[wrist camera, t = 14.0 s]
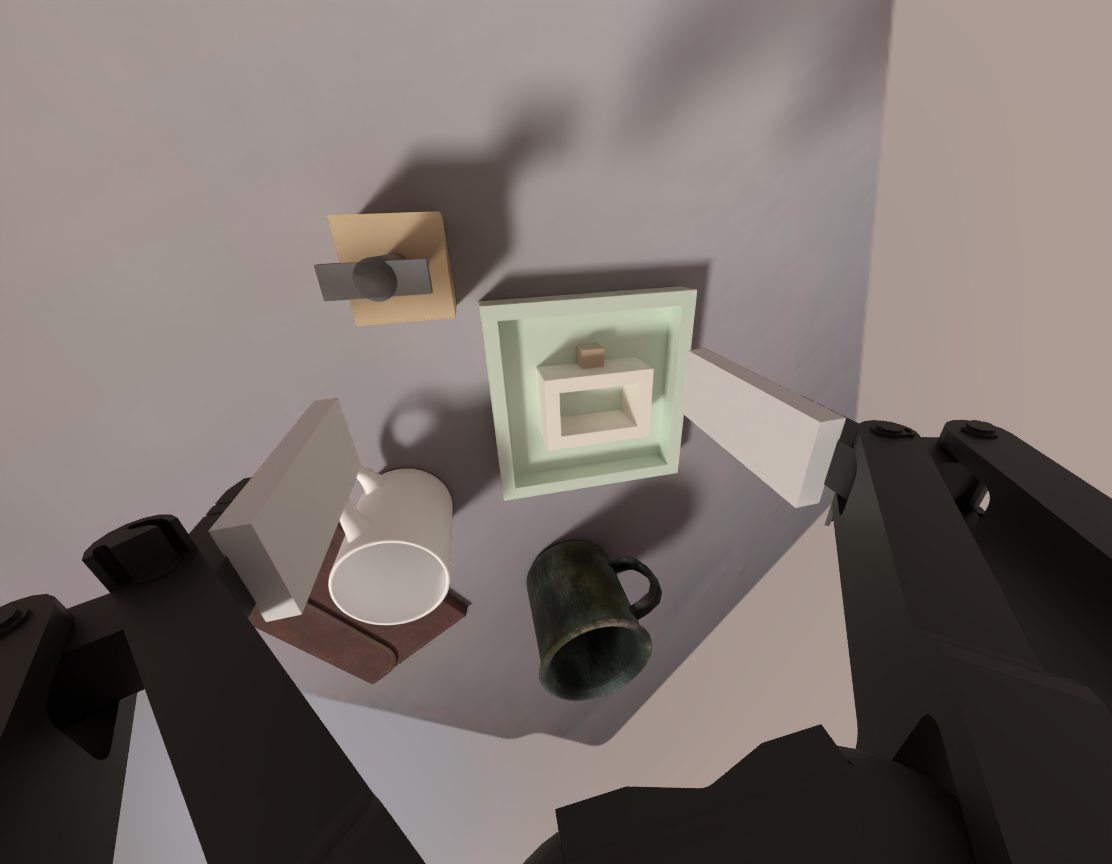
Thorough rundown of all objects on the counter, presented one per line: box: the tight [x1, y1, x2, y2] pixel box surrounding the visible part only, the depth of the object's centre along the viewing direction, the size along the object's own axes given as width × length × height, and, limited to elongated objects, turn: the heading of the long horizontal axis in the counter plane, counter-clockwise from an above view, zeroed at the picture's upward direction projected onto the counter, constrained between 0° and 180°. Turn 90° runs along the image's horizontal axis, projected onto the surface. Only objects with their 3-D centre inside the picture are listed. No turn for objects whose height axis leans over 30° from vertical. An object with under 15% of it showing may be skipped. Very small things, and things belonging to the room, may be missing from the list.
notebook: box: [248, 521, 467, 684], centre depth 43 cm, size 15×20×2 cm
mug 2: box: [526, 541, 662, 701], centre depth 42 cm, size 11×15×12 cm
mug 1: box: [328, 466, 453, 625], centre depth 34 cm, size 9×12×11 cm
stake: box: [314, 211, 457, 326], centre depth 25 cm, size 6×6×13 cm
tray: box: [478, 286, 697, 501], centre depth 37 cm, size 18×18×3 cm
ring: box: [536, 343, 654, 451], centre depth 35 cm, size 9×8×4 cm
